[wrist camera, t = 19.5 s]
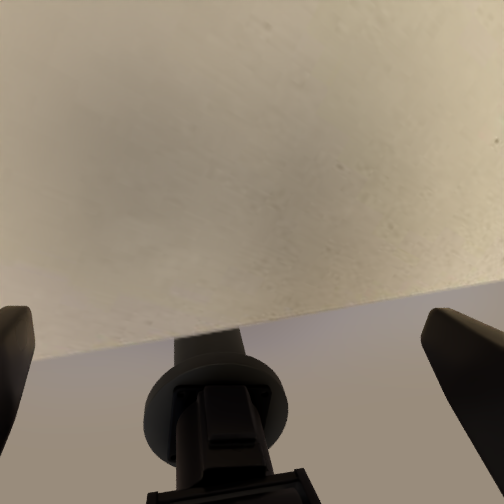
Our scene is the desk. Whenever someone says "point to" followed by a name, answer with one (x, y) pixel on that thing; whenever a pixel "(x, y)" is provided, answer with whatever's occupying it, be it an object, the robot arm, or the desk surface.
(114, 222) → the desk surface
